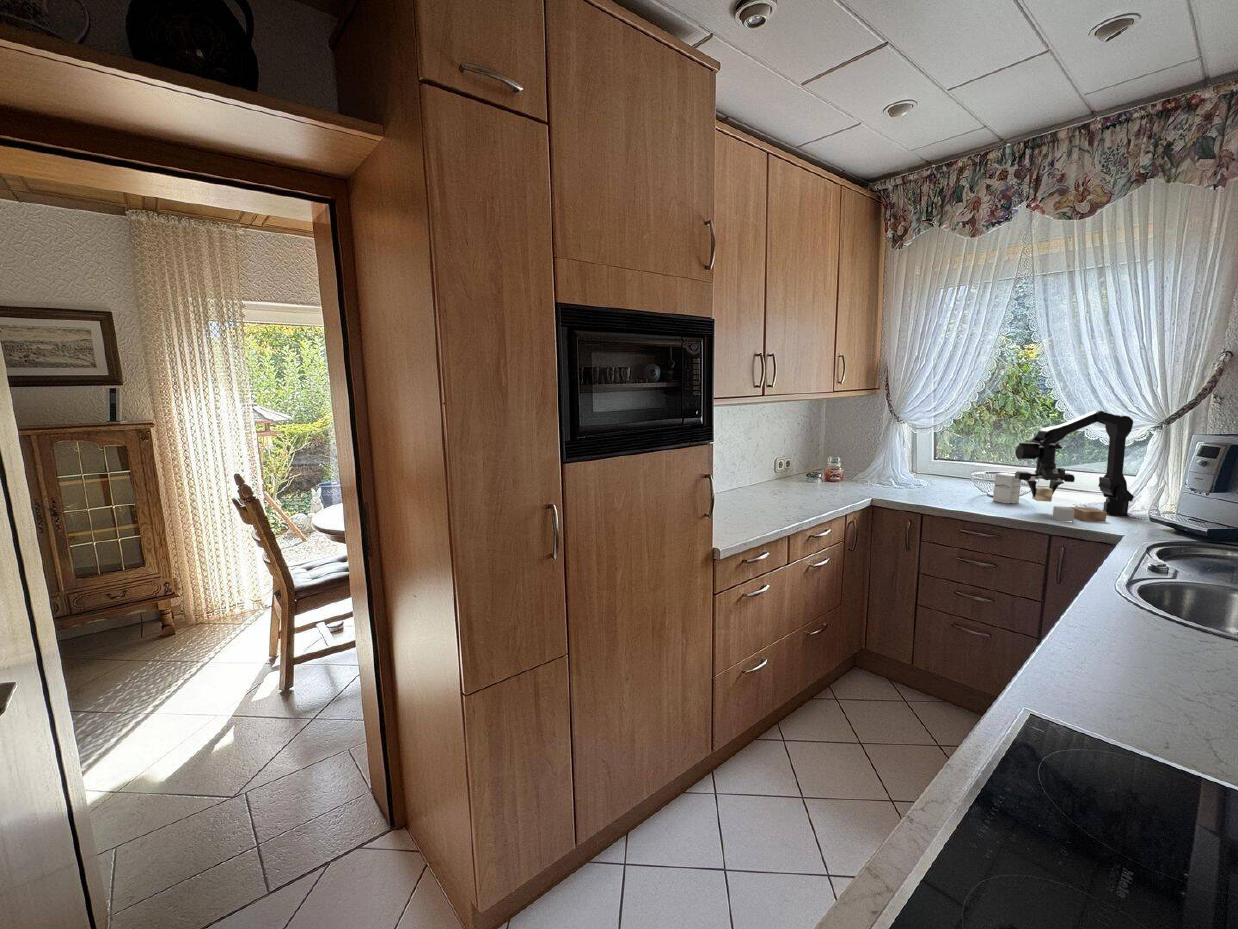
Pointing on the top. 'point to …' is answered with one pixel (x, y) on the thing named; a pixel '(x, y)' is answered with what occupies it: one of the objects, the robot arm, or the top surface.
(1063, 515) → the grey plastic cube
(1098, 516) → the walnut block
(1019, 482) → the supplement box
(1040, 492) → the birch cube
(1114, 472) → the robot arm
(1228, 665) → the top surface
